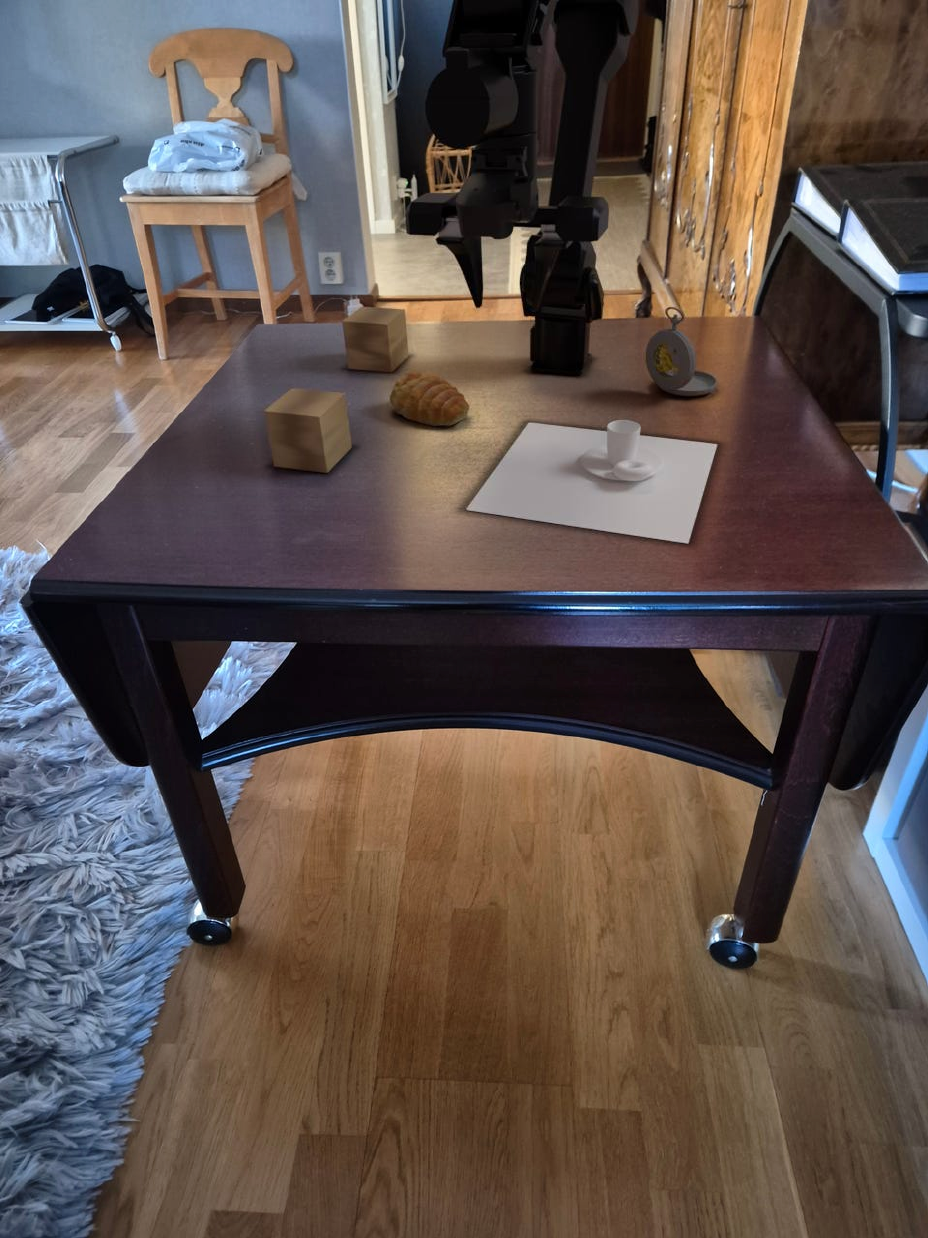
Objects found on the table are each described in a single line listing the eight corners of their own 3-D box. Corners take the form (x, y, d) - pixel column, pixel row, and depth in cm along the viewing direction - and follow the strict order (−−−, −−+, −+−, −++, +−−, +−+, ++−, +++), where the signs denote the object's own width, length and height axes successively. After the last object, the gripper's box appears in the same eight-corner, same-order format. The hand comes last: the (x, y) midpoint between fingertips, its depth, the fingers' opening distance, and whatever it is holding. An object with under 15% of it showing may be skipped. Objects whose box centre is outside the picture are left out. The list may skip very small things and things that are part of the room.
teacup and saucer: (653, 493, 78) (658, 453, 76) (569, 482, 80) (571, 442, 78) (669, 453, 85) (674, 414, 82) (591, 443, 87) (593, 406, 85)
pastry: (484, 416, 94) (483, 383, 91) (440, 436, 90) (438, 402, 88) (427, 394, 99) (425, 363, 97) (383, 413, 95) (380, 380, 93)
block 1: (352, 447, 88) (345, 392, 85) (327, 473, 84) (319, 416, 80) (300, 441, 90) (291, 387, 86) (273, 466, 86) (263, 410, 82)
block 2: (408, 356, 110) (405, 309, 106) (391, 372, 105) (387, 324, 102) (366, 352, 112) (361, 306, 108) (347, 368, 107) (341, 320, 103)
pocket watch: (719, 380, 99) (732, 292, 93) (711, 407, 93) (724, 315, 87) (649, 374, 102) (657, 288, 96) (637, 400, 96) (645, 310, 89)
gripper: (375, 145, 73) (391, 327, 82) (590, 146, 67) (581, 341, 77) (420, 126, 81) (430, 294, 90) (615, 127, 76) (604, 304, 85)
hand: (506, 308), depth 85 cm, fingers open, 6 cm apart
